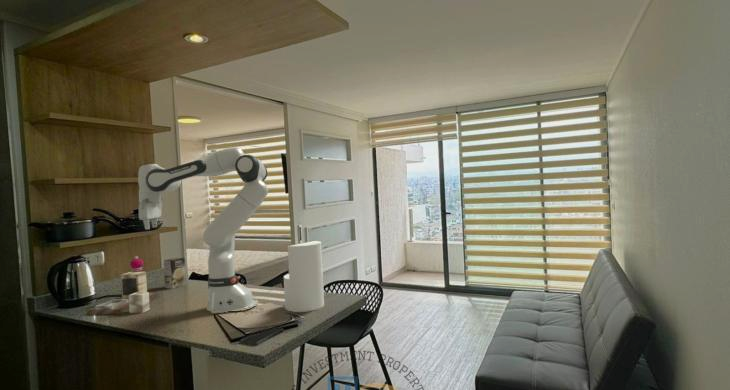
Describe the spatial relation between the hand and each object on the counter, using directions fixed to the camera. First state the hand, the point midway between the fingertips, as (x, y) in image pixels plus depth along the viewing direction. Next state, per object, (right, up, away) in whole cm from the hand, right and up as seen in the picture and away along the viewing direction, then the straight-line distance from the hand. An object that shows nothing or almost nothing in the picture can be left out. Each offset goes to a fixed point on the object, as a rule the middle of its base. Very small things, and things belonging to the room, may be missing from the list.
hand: (151, 228), depth 178 cm
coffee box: (-9, -38, +42) cm, 57 cm away
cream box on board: (-17, -38, +8) cm, 42 cm away
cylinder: (+73, -34, -8) cm, 81 cm away
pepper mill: (-25, -38, +32) cm, 56 cm away
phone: (+63, -35, -43) cm, 84 cm away
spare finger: (-3, -37, -4) cm, 38 cm away
